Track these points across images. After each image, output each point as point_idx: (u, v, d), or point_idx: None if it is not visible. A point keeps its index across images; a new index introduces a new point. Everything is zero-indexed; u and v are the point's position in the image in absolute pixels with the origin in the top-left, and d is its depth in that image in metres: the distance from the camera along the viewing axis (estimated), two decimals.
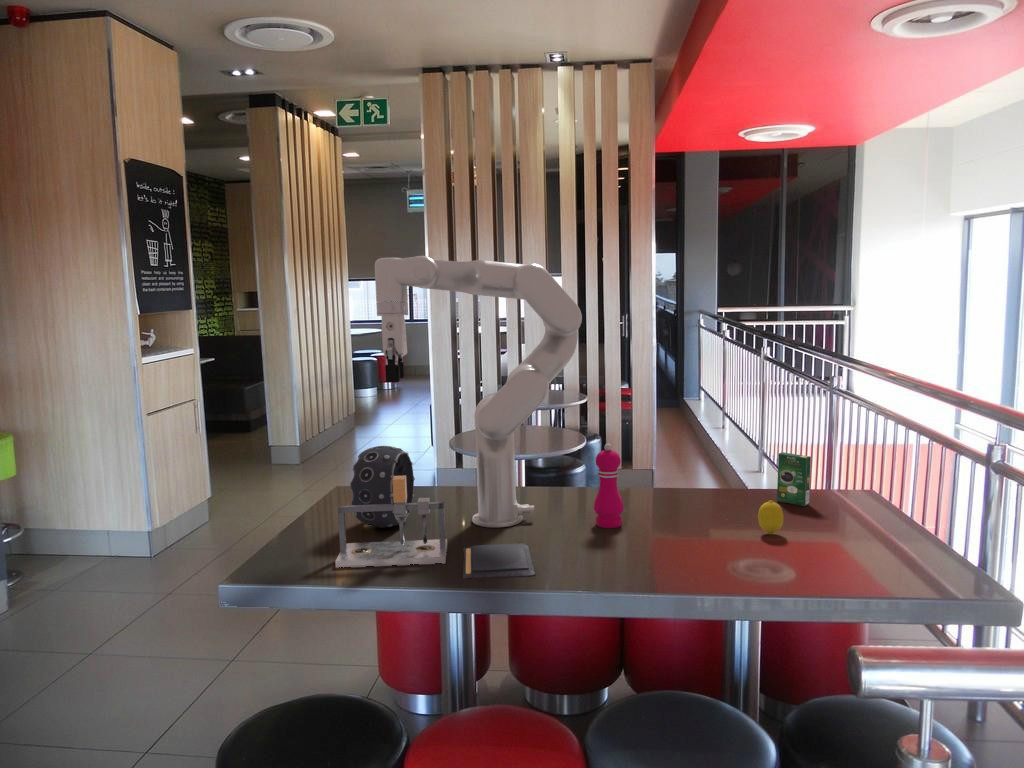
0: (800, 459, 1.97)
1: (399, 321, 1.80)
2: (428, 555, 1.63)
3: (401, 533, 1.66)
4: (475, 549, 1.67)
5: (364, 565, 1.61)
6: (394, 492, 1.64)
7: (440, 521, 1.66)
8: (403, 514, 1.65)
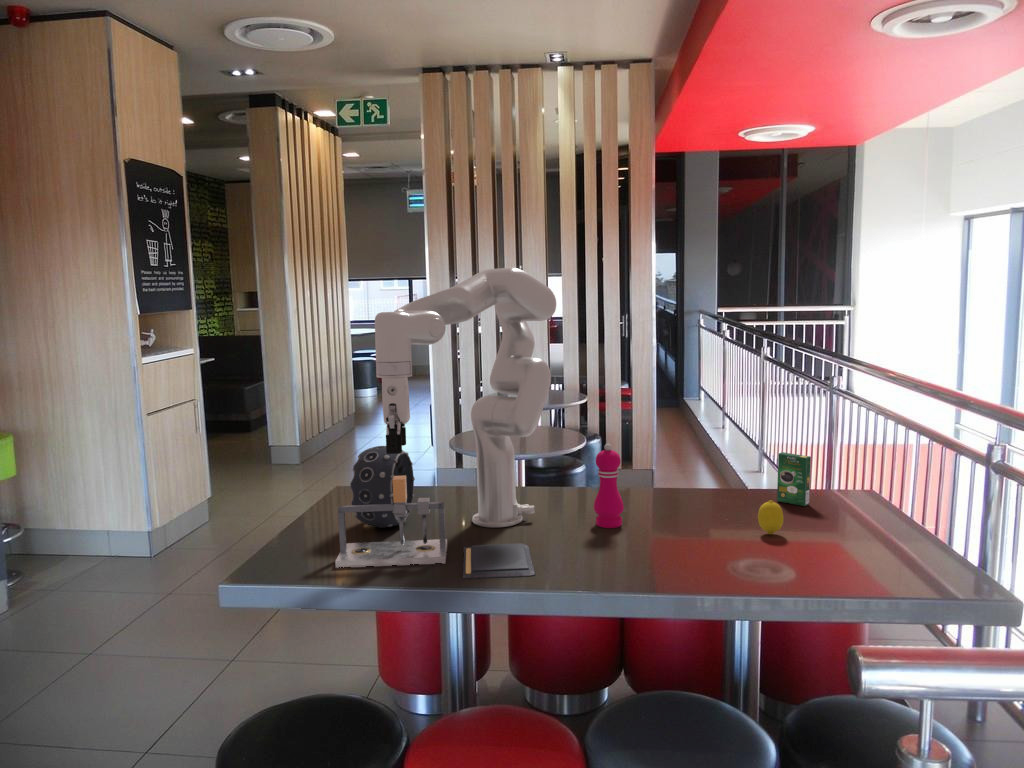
0: (800, 459, 1.97)
1: (402, 384, 1.59)
2: (428, 555, 1.63)
3: (401, 533, 1.66)
4: (475, 549, 1.67)
5: (364, 565, 1.61)
6: (394, 492, 1.64)
7: (440, 521, 1.66)
8: (403, 514, 1.65)
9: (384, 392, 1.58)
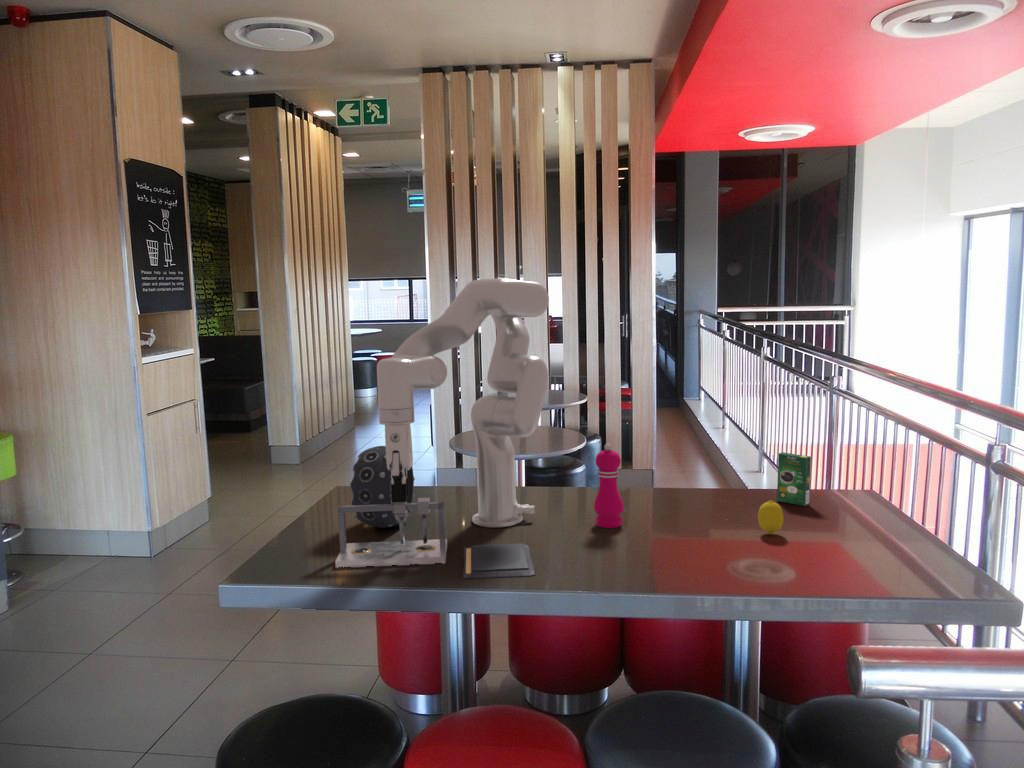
0: (800, 459, 1.97)
1: (405, 431, 1.60)
2: (428, 555, 1.63)
3: (401, 533, 1.66)
4: (475, 549, 1.67)
5: (364, 565, 1.61)
6: None
7: (440, 521, 1.66)
8: (403, 514, 1.65)
9: (387, 439, 1.60)
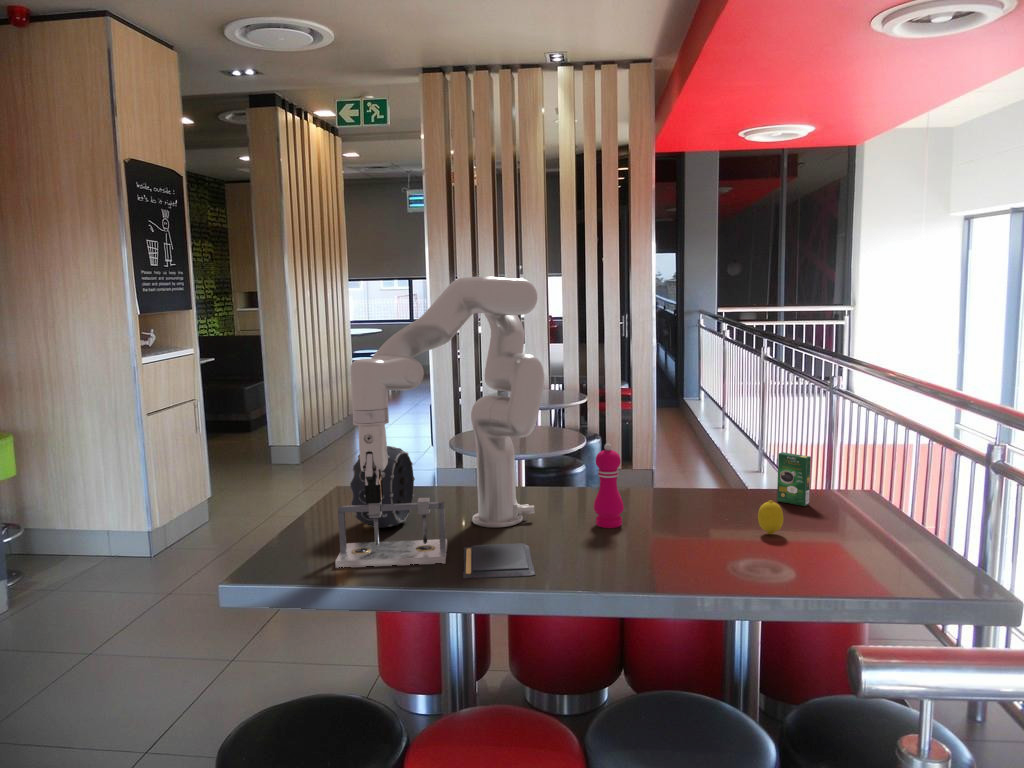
0: (800, 459, 1.97)
1: (378, 432, 1.60)
2: (428, 555, 1.63)
3: (376, 534, 1.66)
4: (475, 549, 1.67)
5: (364, 565, 1.61)
6: None
7: (440, 521, 1.66)
8: (377, 515, 1.64)
9: (360, 440, 1.59)
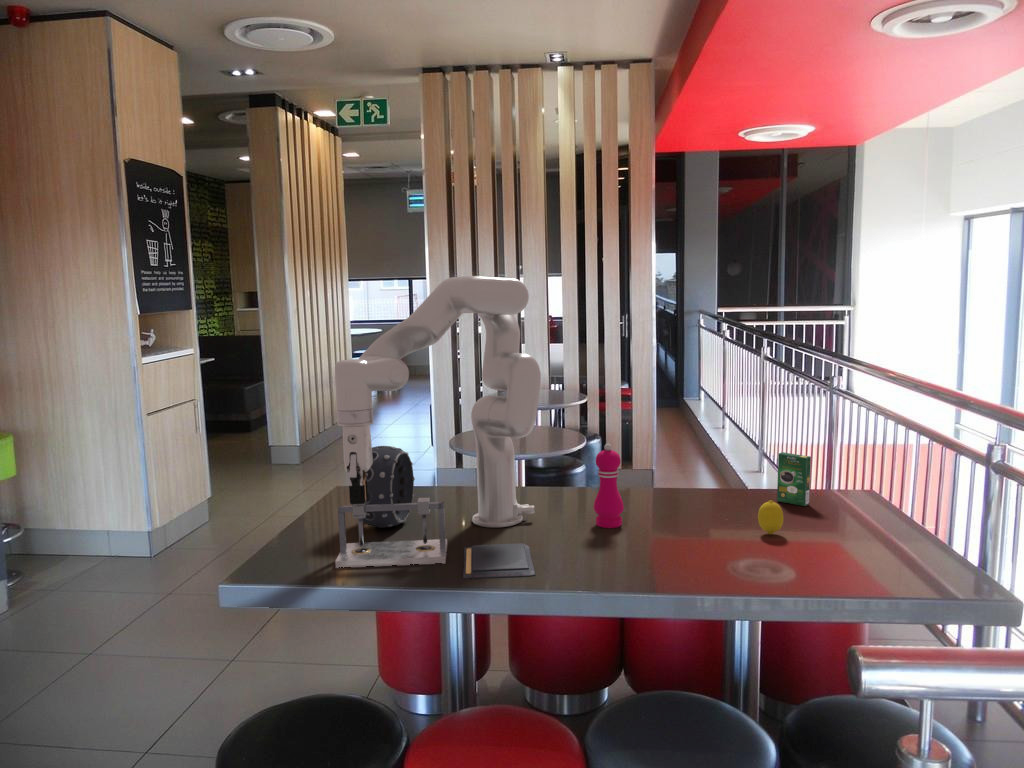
0: (800, 459, 1.97)
1: (362, 433, 1.60)
2: (428, 555, 1.63)
3: (360, 535, 1.66)
4: (475, 549, 1.67)
5: (364, 565, 1.61)
6: None
7: (440, 521, 1.66)
8: (362, 516, 1.64)
9: (344, 441, 1.59)
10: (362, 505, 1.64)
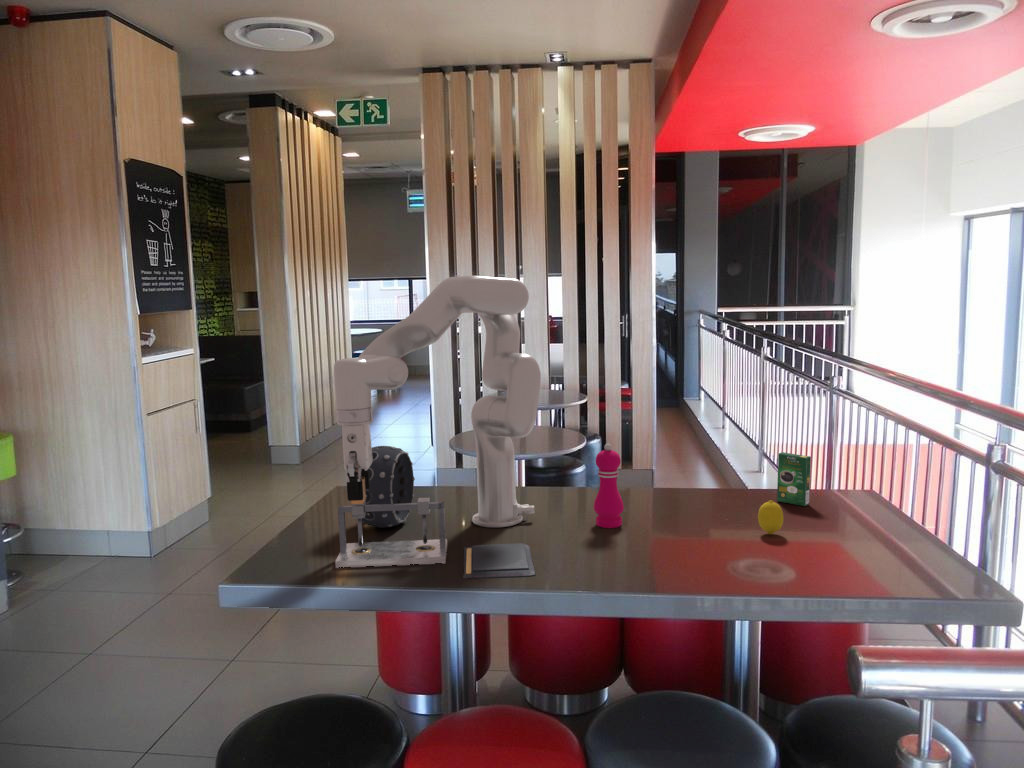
0: (800, 459, 1.97)
1: (362, 432, 1.60)
2: (428, 555, 1.63)
3: (360, 535, 1.66)
4: (476, 549, 1.67)
5: (364, 565, 1.61)
6: None
7: (440, 521, 1.66)
8: (361, 516, 1.64)
9: (344, 440, 1.59)
10: (361, 505, 1.64)
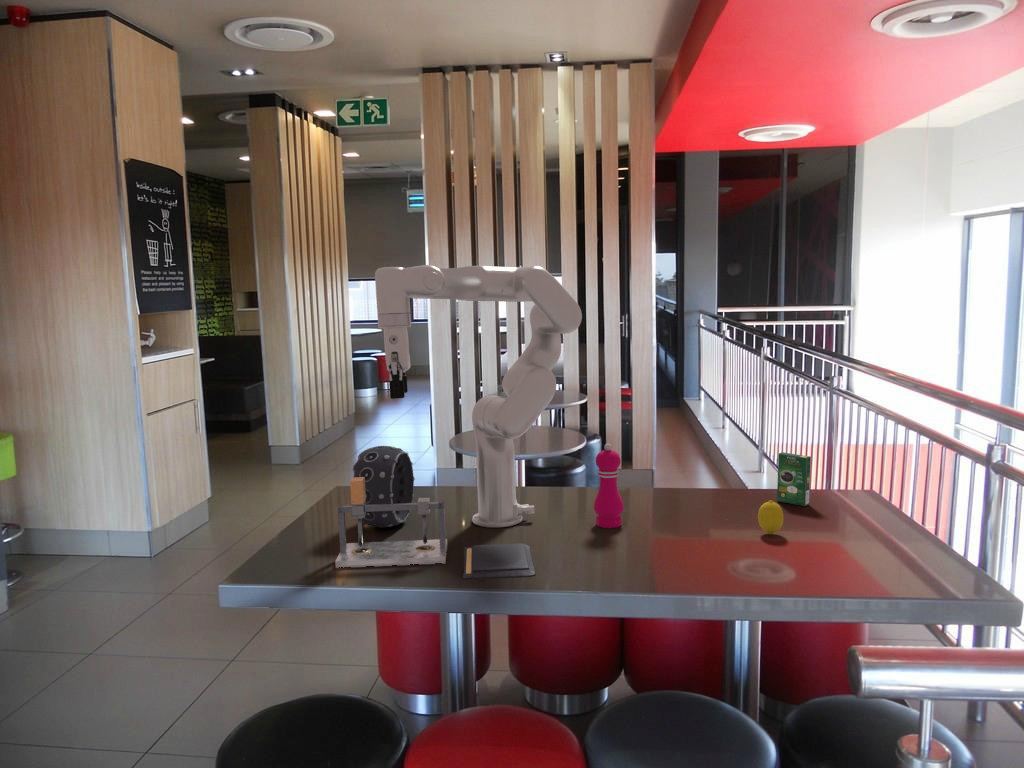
0: (800, 459, 1.97)
1: (403, 334, 1.71)
2: (428, 555, 1.63)
3: (360, 535, 1.66)
4: (476, 549, 1.67)
5: (364, 565, 1.61)
6: (352, 494, 1.63)
7: (440, 521, 1.66)
8: (361, 516, 1.64)
9: (386, 341, 1.71)
10: (361, 505, 1.64)
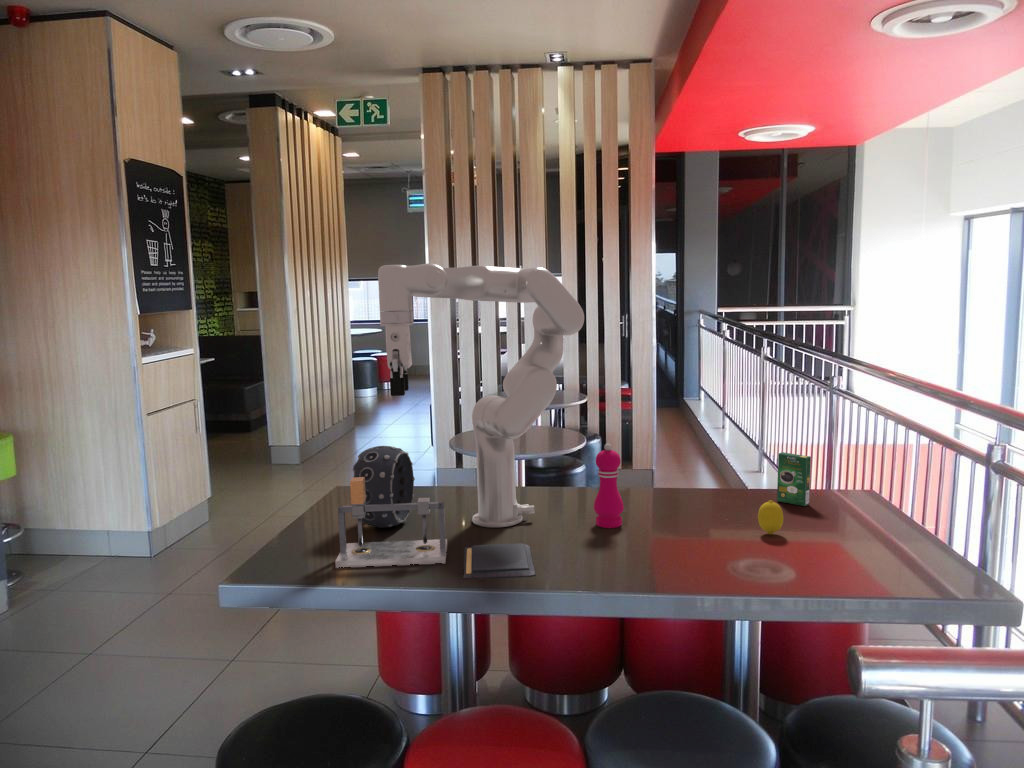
0: (800, 459, 1.97)
1: (404, 331, 1.72)
2: (428, 555, 1.63)
3: (360, 535, 1.66)
4: (476, 549, 1.67)
5: (364, 565, 1.61)
6: (352, 494, 1.63)
7: (440, 521, 1.66)
8: (361, 516, 1.64)
9: (388, 339, 1.71)
10: (361, 505, 1.64)
